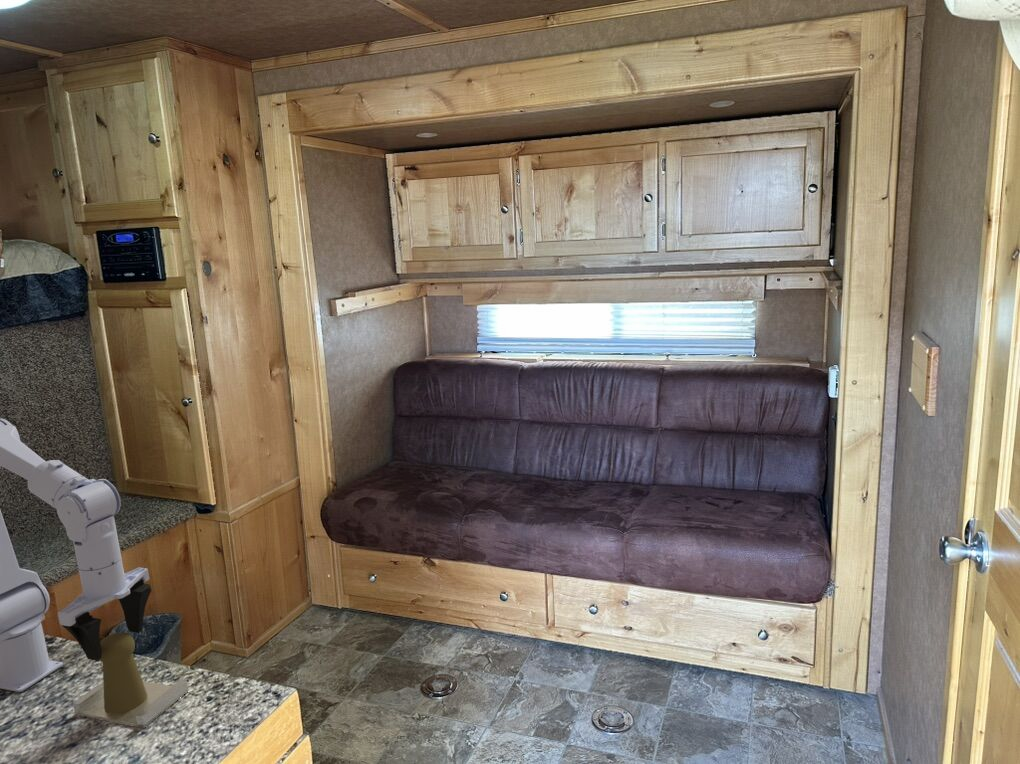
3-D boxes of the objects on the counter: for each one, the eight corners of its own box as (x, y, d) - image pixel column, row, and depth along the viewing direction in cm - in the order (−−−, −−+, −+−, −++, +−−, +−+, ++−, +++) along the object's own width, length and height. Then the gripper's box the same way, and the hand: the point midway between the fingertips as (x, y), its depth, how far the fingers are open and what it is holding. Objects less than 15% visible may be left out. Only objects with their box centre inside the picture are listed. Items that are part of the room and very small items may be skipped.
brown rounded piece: (155, 690, 115) (144, 627, 113) (130, 715, 109) (117, 649, 107) (122, 688, 116) (110, 626, 114) (95, 713, 110) (81, 647, 108)
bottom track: (75, 714, 111) (72, 703, 111) (122, 680, 119) (120, 669, 119) (144, 728, 107) (142, 716, 106) (188, 691, 115) (186, 680, 115)
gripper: (77, 587, 100) (95, 675, 103) (158, 544, 113) (171, 622, 116) (40, 582, 102) (58, 668, 105) (123, 540, 116) (137, 618, 118)
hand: (115, 644), depth 111 cm, fingers open, 7 cm apart
